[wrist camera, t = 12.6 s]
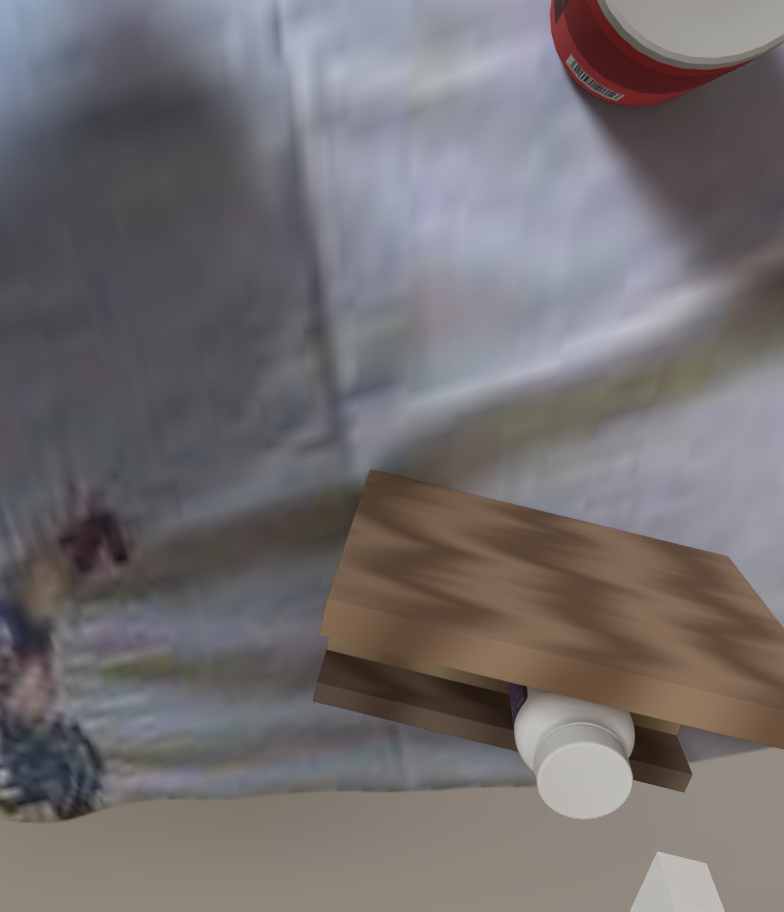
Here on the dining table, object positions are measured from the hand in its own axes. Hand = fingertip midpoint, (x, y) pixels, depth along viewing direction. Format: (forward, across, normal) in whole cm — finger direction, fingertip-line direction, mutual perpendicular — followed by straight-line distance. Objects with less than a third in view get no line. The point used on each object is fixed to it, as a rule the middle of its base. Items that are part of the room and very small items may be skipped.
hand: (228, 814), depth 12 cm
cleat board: (+29, +10, -10) cm, 32 cm away
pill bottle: (+26, +12, -11) cm, 31 cm away
